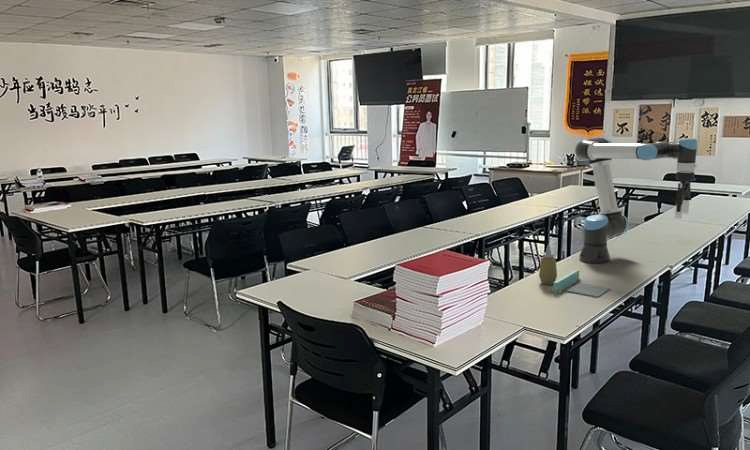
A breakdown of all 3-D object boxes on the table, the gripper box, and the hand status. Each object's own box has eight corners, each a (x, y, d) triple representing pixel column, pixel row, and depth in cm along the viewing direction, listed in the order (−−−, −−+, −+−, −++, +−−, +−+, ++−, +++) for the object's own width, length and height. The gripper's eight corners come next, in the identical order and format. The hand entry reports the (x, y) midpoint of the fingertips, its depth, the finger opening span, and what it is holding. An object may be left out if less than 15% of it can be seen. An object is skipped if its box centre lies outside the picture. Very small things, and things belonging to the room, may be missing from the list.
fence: (550, 292, 246) (550, 281, 245) (573, 279, 264) (573, 269, 263) (559, 294, 244) (559, 283, 243) (581, 280, 261) (581, 270, 260)
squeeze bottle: (542, 279, 265) (542, 243, 262) (559, 282, 260) (560, 244, 257) (536, 284, 259) (537, 246, 255) (553, 286, 254) (554, 248, 251)
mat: (566, 291, 247) (566, 290, 246) (579, 283, 257) (579, 282, 256) (597, 297, 237) (597, 296, 237) (610, 289, 247) (610, 288, 247)
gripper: (688, 175, 248) (684, 221, 253) (700, 169, 267) (696, 212, 271) (670, 174, 253) (666, 219, 258) (682, 168, 272) (679, 210, 276)
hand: (681, 216), depth 265 cm, fingers open, 13 cm apart
